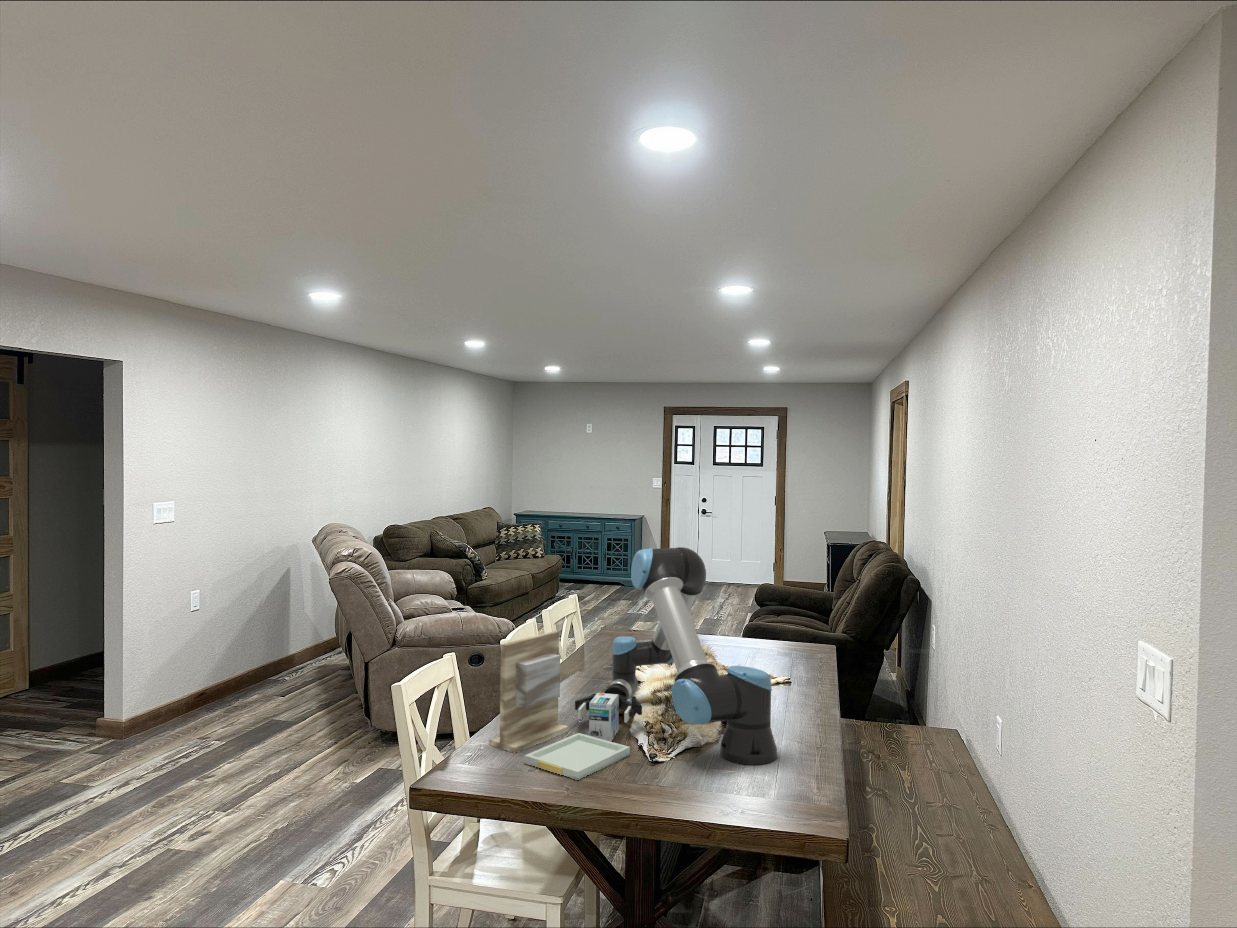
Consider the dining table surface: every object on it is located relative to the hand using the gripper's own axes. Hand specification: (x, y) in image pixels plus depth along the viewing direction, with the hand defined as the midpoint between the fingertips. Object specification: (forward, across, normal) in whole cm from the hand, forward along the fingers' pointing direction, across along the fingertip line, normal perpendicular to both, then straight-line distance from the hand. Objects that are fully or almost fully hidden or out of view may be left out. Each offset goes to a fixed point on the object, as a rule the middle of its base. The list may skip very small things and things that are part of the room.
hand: (602, 715), depth 230 cm
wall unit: (+6, +20, -6) cm, 21 cm away
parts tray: (+18, +2, -6) cm, 19 cm away
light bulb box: (-2, 0, -6) cm, 7 cm away
